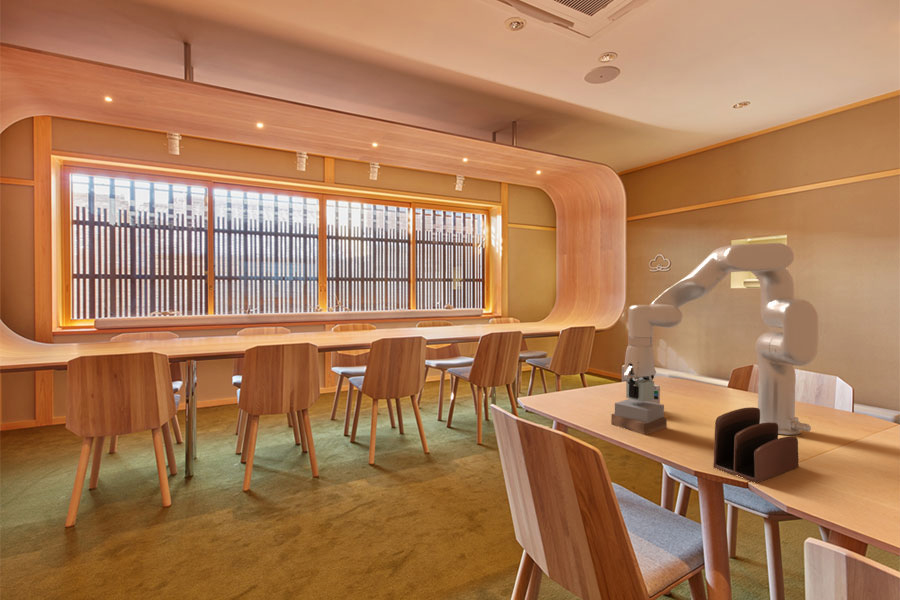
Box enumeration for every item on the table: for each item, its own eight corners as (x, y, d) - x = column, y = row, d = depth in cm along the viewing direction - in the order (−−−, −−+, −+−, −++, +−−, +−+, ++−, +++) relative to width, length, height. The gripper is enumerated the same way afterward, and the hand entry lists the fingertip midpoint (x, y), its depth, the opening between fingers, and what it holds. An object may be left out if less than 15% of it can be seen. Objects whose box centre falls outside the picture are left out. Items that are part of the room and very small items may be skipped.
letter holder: (712, 468, 106) (713, 413, 106) (755, 454, 116) (756, 403, 115) (756, 484, 98) (757, 424, 97) (799, 468, 107) (800, 412, 106)
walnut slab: (666, 430, 137) (666, 417, 137) (644, 436, 131) (644, 423, 131) (633, 420, 147) (633, 409, 147) (611, 425, 141) (611, 414, 141)
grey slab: (663, 417, 138) (664, 404, 138) (647, 423, 131) (647, 410, 131) (631, 409, 147) (631, 398, 147) (614, 415, 140) (614, 403, 140)
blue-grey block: (654, 399, 138) (654, 381, 138) (642, 401, 135) (642, 383, 135) (637, 395, 143) (637, 377, 143) (626, 397, 140) (626, 379, 140)
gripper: (646, 339, 146) (646, 391, 147) (613, 342, 138) (613, 397, 138) (667, 341, 140) (666, 395, 140) (633, 345, 131) (633, 402, 132)
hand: (640, 396), depth 139 cm, fingers closed on blue-grey block, 5 cm apart
